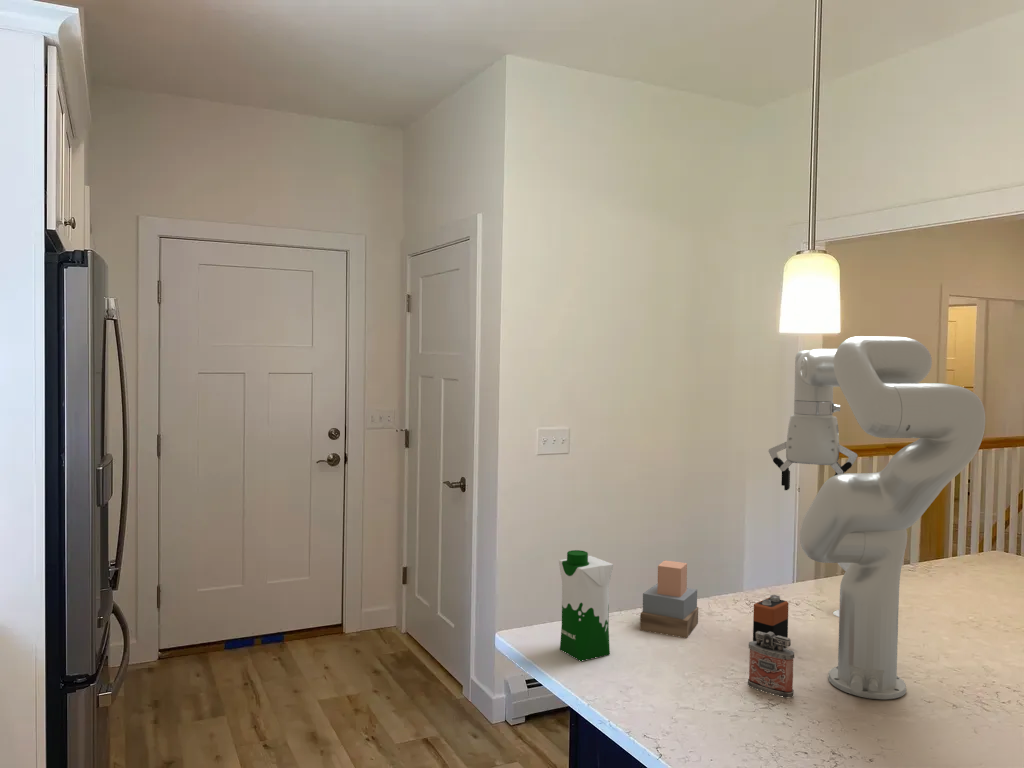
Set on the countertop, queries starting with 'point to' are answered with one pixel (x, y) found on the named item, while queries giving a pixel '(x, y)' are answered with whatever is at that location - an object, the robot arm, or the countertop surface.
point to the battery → (771, 616)
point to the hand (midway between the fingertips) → (811, 491)
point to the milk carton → (585, 605)
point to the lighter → (771, 664)
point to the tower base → (669, 624)
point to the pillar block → (672, 578)
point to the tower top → (669, 603)
